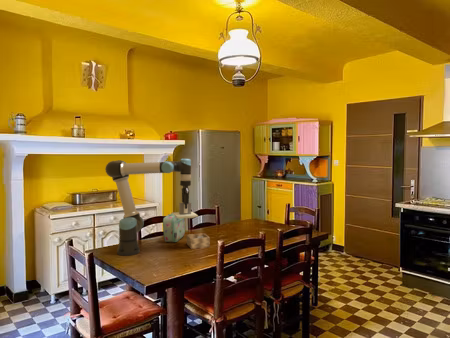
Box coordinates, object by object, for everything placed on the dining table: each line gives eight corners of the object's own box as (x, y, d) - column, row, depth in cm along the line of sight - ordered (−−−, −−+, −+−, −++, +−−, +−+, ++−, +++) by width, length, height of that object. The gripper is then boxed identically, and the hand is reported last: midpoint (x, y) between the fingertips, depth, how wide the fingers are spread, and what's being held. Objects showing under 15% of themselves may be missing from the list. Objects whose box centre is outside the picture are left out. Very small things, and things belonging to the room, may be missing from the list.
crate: (191, 248, 251) (191, 239, 251) (186, 243, 264) (186, 234, 264) (209, 247, 256) (209, 237, 255) (204, 242, 269) (204, 233, 269)
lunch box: (175, 244, 263) (174, 216, 262) (162, 243, 265) (161, 215, 264) (186, 235, 289) (185, 210, 288) (174, 235, 292) (174, 209, 290)
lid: (177, 219, 244) (177, 204, 243) (172, 215, 258) (172, 201, 257) (197, 218, 249) (198, 204, 248) (192, 214, 263) (192, 201, 262)
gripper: (193, 181, 246) (193, 214, 247) (187, 179, 261) (187, 210, 262) (183, 181, 243) (182, 214, 244) (177, 179, 258) (177, 210, 259)
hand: (185, 212), depth 253 cm, fingers closed on lid, 3 cm apart
